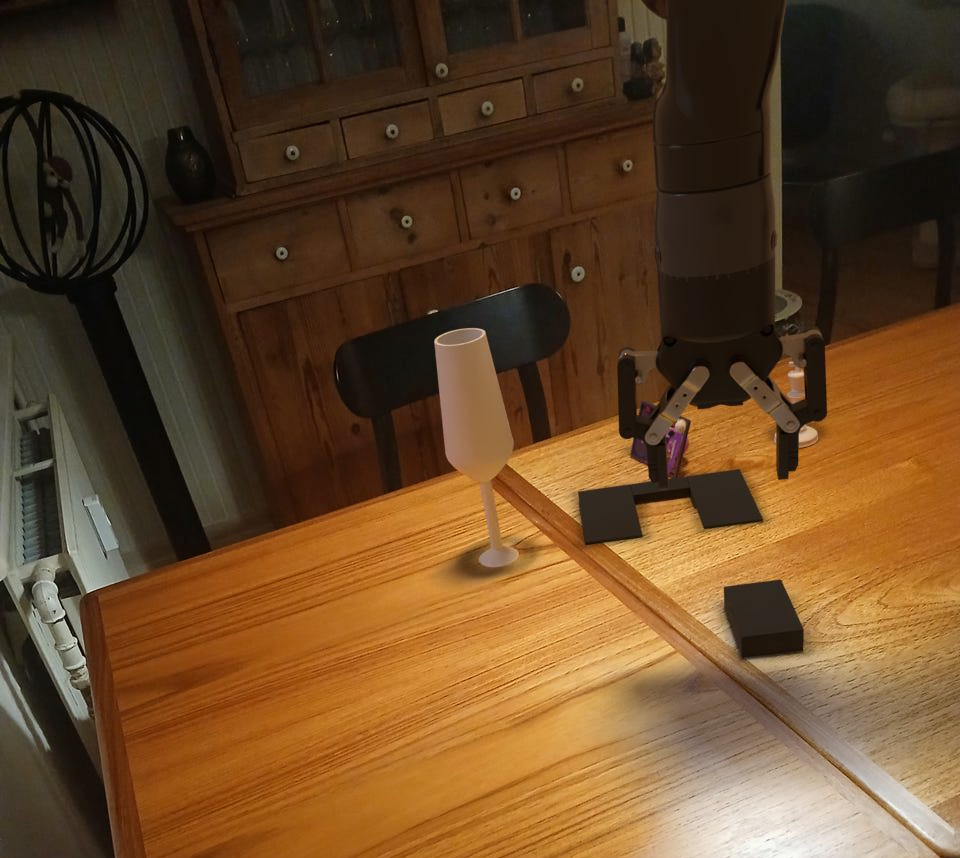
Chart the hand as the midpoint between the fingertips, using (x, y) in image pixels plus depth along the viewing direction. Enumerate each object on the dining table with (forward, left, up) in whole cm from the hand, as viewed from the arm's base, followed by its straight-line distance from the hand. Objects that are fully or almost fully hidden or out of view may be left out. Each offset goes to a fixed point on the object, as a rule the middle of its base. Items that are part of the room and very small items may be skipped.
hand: (722, 480), depth 73 cm
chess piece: (-16, -42, -17) cm, 48 cm away
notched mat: (+1, -28, -17) cm, 33 cm away
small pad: (-4, -4, -17) cm, 18 cm away
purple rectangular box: (-1, -41, -17) cm, 44 cm away
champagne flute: (+19, -22, -17) cm, 34 cm away
